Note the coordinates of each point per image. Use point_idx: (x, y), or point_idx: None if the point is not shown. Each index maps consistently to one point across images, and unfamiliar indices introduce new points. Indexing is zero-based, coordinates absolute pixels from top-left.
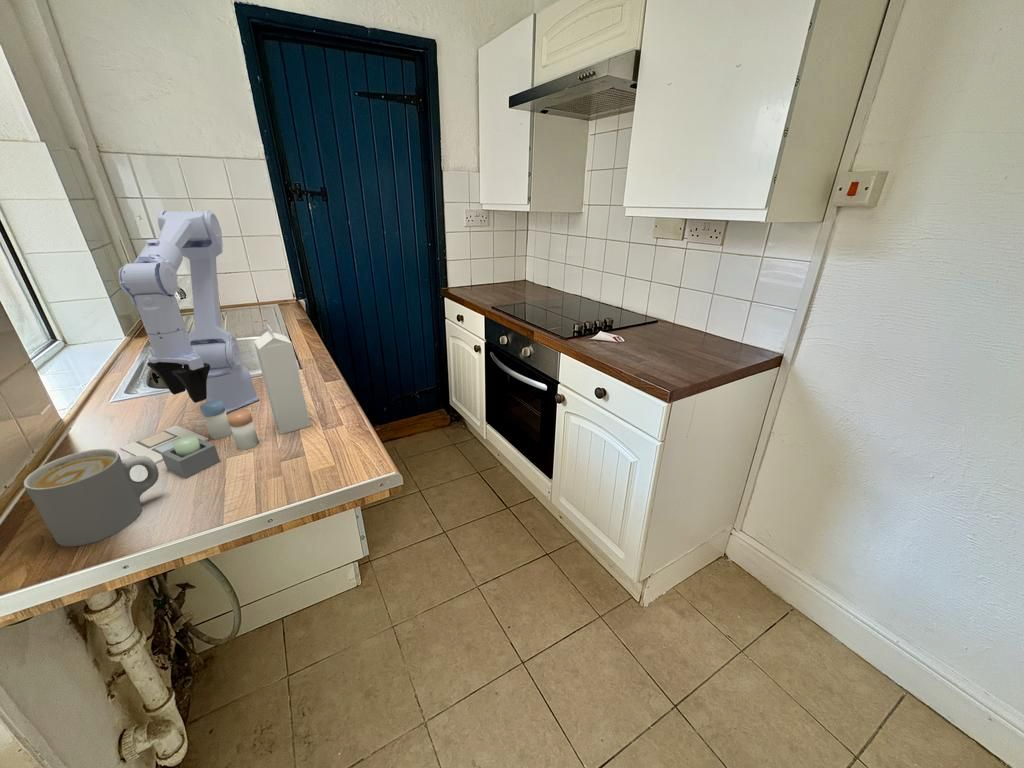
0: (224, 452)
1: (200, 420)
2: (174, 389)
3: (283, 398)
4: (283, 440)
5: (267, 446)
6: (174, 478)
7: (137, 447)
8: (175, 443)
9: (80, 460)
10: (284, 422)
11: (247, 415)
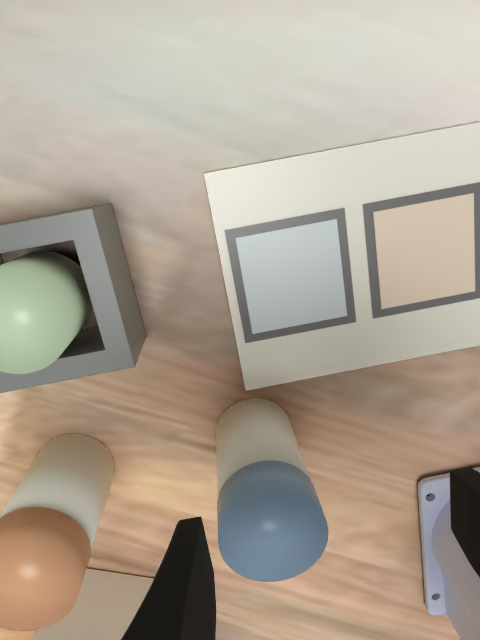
0: (81, 393)
1: (454, 418)
2: (471, 505)
3: None
4: None
5: (3, 505)
6: (5, 200)
7: (417, 173)
8: (12, 280)
9: None
10: None
11: None
